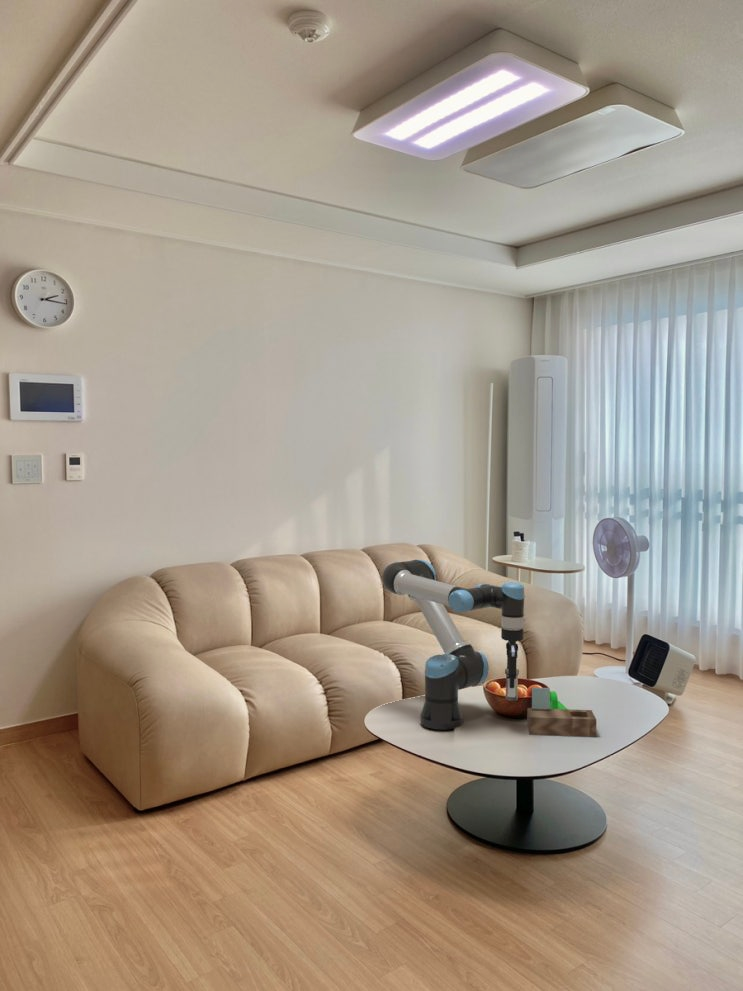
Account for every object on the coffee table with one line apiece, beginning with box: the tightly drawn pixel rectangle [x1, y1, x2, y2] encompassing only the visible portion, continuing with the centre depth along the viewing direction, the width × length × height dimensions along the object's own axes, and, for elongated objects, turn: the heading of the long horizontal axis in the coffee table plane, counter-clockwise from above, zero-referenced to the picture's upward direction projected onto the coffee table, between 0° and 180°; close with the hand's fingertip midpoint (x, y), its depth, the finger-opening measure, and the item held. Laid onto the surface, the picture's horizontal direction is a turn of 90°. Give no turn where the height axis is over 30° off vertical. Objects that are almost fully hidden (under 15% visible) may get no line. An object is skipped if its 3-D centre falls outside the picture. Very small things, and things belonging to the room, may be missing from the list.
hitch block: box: [526, 707, 597, 738], centre depth 271 cm, size 22×10×6 cm, turn 83°
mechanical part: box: [550, 690, 568, 709], centre depth 294 cm, size 12×6×8 cm, turn 5°
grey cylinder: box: [504, 667, 520, 702], centre depth 274 cm, size 5×5×10 cm
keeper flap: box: [530, 687, 551, 710], centre depth 275 cm, size 6×1×8 cm, turn 83°
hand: (511, 694), depth 274 cm, fingers closed on grey cylinder, 4 cm apart
